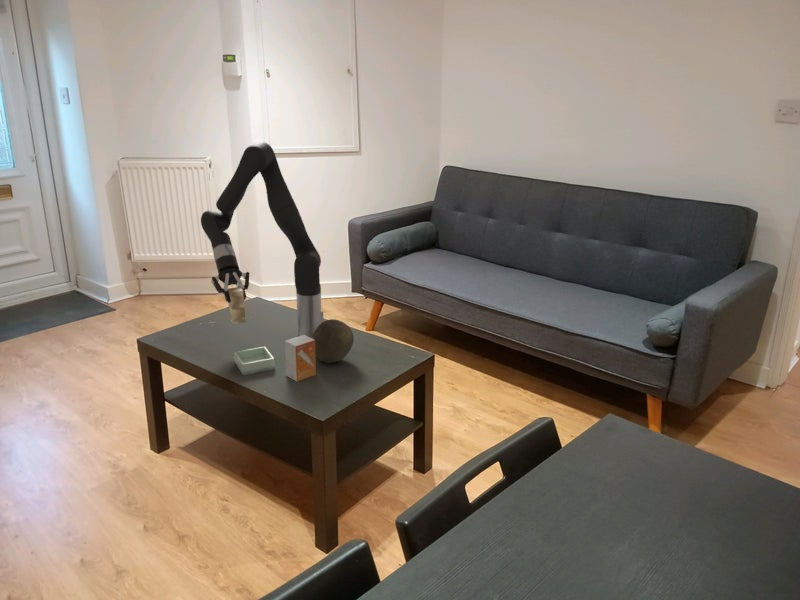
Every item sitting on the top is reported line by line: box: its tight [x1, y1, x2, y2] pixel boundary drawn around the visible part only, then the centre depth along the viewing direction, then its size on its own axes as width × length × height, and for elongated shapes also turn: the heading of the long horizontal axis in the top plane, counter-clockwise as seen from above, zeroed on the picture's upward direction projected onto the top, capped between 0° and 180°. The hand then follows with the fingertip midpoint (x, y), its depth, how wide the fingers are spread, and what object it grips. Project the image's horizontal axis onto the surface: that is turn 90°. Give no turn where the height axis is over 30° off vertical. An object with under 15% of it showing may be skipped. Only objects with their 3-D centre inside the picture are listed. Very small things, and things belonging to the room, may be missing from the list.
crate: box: [233, 346, 276, 376], centre depth 231 cm, size 11×11×4 cm
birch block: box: [228, 286, 247, 325], centre depth 239 cm, size 4×4×12 cm
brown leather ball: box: [312, 319, 355, 364], centre depth 234 cm, size 14×14×15 cm
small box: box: [284, 335, 317, 383], centre depth 224 cm, size 8×6×13 cm
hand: (236, 300), depth 238 cm, fingers closed on birch block, 4 cm apart
